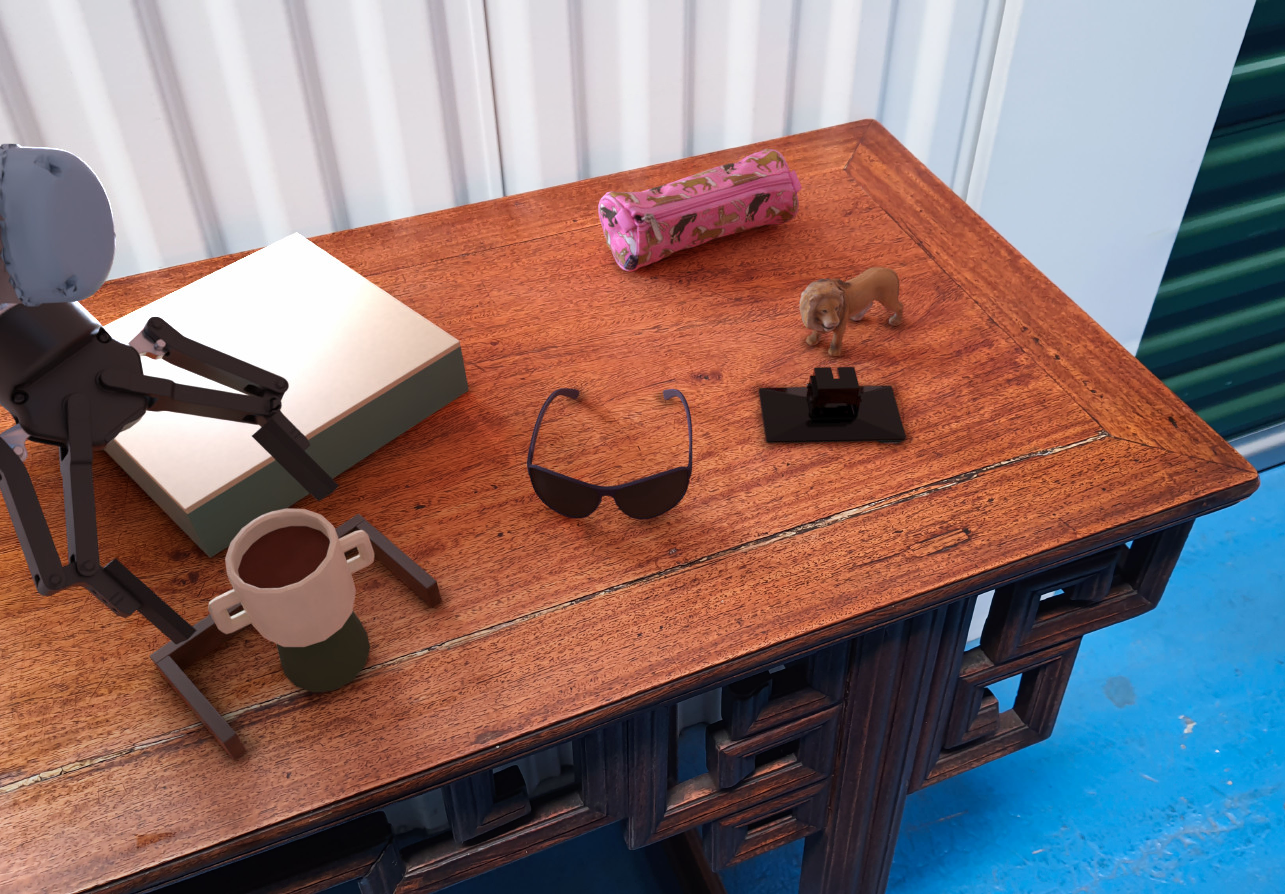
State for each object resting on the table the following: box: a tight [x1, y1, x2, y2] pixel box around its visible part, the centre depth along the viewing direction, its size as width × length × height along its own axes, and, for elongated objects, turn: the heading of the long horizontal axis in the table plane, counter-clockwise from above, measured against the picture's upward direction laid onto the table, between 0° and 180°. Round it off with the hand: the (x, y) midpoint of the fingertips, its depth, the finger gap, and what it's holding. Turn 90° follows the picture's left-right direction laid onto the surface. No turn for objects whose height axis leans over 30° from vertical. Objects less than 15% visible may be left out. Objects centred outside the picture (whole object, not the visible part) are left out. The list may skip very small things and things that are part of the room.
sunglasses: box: [526, 387, 694, 521], centre depth 85 cm, size 14×16×5 cm
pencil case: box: [597, 148, 803, 273], centre depth 107 cm, size 21×9×9 cm, turn 117°
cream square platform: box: [103, 232, 470, 559], centre depth 91 cm, size 27×26×6 cm
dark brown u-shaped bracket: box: [148, 513, 443, 762], centre depth 73 cm, size 18×10×2 cm, turn 137°
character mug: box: [207, 508, 375, 693], centre depth 68 cm, size 11×7×13 cm, turn 125°
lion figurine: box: [798, 266, 904, 358], centre depth 95 cm, size 15×5×9 cm, turn 133°
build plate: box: [758, 366, 907, 445], centre depth 89 cm, size 12×7×5 cm, turn 91°
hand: (262, 561), depth 67 cm, fingers open, 13 cm apart
